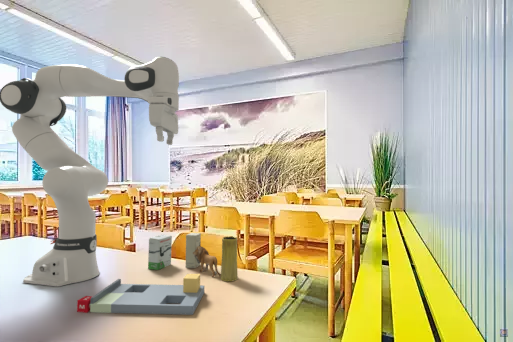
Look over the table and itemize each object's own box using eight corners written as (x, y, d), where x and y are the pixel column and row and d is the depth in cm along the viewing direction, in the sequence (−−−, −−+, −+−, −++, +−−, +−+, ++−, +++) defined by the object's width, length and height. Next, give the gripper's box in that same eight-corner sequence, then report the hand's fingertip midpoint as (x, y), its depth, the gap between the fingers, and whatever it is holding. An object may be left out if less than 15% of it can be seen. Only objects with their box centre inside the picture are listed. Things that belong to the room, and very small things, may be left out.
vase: (241, 278, 99) (241, 237, 100) (228, 283, 95) (228, 240, 95) (229, 274, 104) (230, 235, 104) (216, 278, 99) (217, 237, 99)
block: (183, 292, 82) (183, 278, 82) (187, 287, 86) (187, 273, 86) (196, 292, 82) (197, 278, 82) (200, 287, 86) (200, 274, 86)
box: (195, 268, 110) (195, 235, 110) (185, 267, 111) (185, 234, 111) (200, 264, 115) (201, 232, 115) (190, 263, 116) (191, 232, 116)
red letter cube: (86, 313, 74) (87, 301, 74) (76, 311, 74) (77, 300, 74) (95, 307, 77) (95, 296, 77) (85, 306, 77) (86, 295, 77)
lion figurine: (190, 270, 108) (190, 246, 108) (201, 267, 112) (201, 244, 112) (216, 279, 99) (216, 253, 99) (227, 275, 103) (227, 250, 103)
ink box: (158, 270, 107) (158, 239, 107) (147, 269, 109) (147, 238, 109) (171, 264, 115) (172, 234, 116) (161, 262, 117) (162, 234, 117)
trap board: (90, 312, 74) (90, 297, 74) (118, 290, 88) (118, 278, 88) (192, 314, 73) (192, 300, 73) (204, 292, 87) (204, 280, 87)
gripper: (166, 111, 111) (166, 146, 110) (145, 96, 90) (144, 139, 90) (182, 111, 111) (182, 146, 110) (165, 96, 90) (164, 139, 90)
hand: (165, 143), depth 100 cm, fingers open, 8 cm apart
